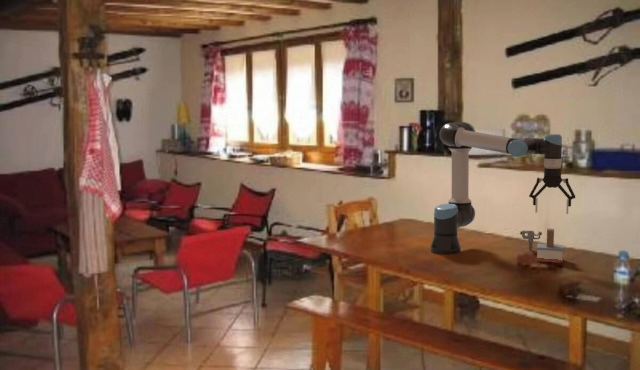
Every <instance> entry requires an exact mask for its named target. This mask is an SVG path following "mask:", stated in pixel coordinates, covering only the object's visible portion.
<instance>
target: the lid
mask: <svg viewBox="0 0 640 370" xmlns="http://www.w3.org/2000/svg"><path fill="white" fill-rule="evenodd" d="M554 242H555V228H547V229H546V243H537V245H536V251H537V250H552V251H562V252H564V244H555V243H554Z"/></svg>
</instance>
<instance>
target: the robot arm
mask: <svg viewBox="0 0 640 370" xmlns="http://www.w3.org/2000/svg"><path fill="white" fill-rule="evenodd" d="M562 137H563V136H562V135H561V134H557V133H553V134H552V133H551V134H549V133H548V134H545V135H544V138H534V137H524V138H521V139H519V138H513V137H508V136H507V137H506V136H501V135H495V134H489V133H483V132H478V131H476V130H475V128H474V126H473V125H472V124H470V123H469V122H465V121H460V122H459V121H458V122H448V123H445V124H444V125H443V126H442V127H441V128H440V131H439V140H440V141H441V142H442V144H443V145H446V146H448V150H449V151H450V152H451V198H450V199H449V200H448V203H444V204H443V203H442V204H438V205H436V206H435V207H434V211H433V238H432V241H431V243H430V246H429V247H430V252H431V253H434V254H437V255H438V254H440V255H455V254H459V253H461V252H462V251H461V249H462V248H461V243H460V240H459V237H458V229H459V228H462V227H463V228H464V227H466V226H468V225H470V224H471V223H472V222H473V221H474V220H475V217H476V209H475V208H474V207H473V205H472V200H471V199H470V197H469V181H470V180H469V176H470V175H469V174H470V173H469V171H470V170H469V168H470V167H469V166H470V165H469V161H470V160H469V158H470V157H469V152H470V151H471V150H472V148H474V149H479V150H485V151H491V152H496V153H501V154H506V155H511V156H512V157H516V158H518V157H519V158H520V157H524V156H531V155H542V156H543V155H544V161H543V165H544V169H543V178H542V177H537V178H536V182H535V185H534V186H533V187H532V190H531V191H530V193H529V196H528V197H529V198H531V199H532V206H534V207H535V208H534V209H535V214H538V205H539V204H538V202H539V201H538V198H539V197H538V196H539V195H540V194H541V193H542V192H543V191H544V190H545V189H546V188H550V189H551V188H554V189H556V188H558V189H559V190H560V191H561V192H562V193H563V195H564V196H565V197H566V198H567V199H566V209H565V210H566V215H568V214H569V207H570V208H571V207H572V200H573V199H576V194H575V193H574V190H573V189H572V187H571V185H570V182H569V178H567V177H565V178H562V162H563V161H562V157H563V156H562V153H563V152H562V151H563V140H562V139H563V138H562ZM542 182H543V185H542V187H540V189H538V191H537V192H536V193H535V191H536V190H537V188H538V186H539V184H540V183H542ZM562 182H563V183H564V184H565V185H566V188H567V189H568V191H569V193H570V194H569V193H568V192H567V191H566V189H564V187H563V186H562V185H561V183H562ZM534 193H535V194H534ZM537 197H538V198H537Z"/></svg>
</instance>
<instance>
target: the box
mask: <svg viewBox="0 0 640 370" xmlns="http://www.w3.org/2000/svg"><path fill="white" fill-rule="evenodd" d="M536 251H537V252H536V259H537V258H544V259H558V260H561V261H562V262H563V251H552V250H537V249H536Z"/></svg>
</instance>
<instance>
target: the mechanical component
mask: <svg viewBox="0 0 640 370" xmlns="http://www.w3.org/2000/svg"><path fill="white" fill-rule="evenodd" d="M519 235H520V236H521V237H522V239H524V240H528V241H527V242H528V251H529V252H533V243H534V240H540V239H541V236H542V235H543V232H542V231H538V233H535V231H534V230H521V231H520V233H519Z"/></svg>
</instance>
